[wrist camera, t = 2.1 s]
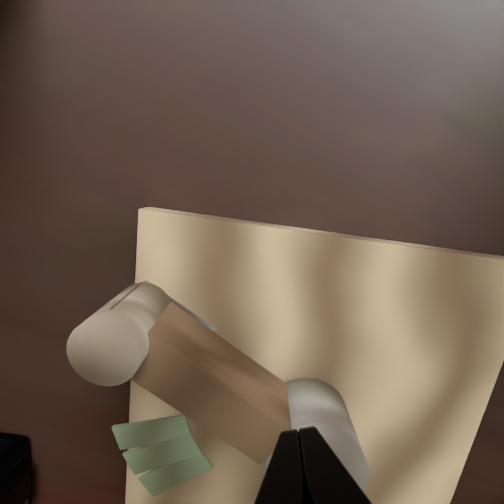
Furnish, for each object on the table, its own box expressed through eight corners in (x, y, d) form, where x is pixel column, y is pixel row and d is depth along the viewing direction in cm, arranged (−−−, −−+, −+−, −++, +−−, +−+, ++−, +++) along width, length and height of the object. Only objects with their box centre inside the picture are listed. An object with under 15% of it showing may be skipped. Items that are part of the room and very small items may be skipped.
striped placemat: (119, 492, 23) (109, 515, 21) (131, 204, 18) (117, 206, 16) (418, 534, 23) (430, 560, 21) (516, 258, 18) (542, 265, 16)
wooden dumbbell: (363, 408, 18) (400, 492, 13) (309, 460, 19) (325, 556, 14) (151, 255, 16) (103, 286, 11) (104, 320, 17) (41, 375, 12)
